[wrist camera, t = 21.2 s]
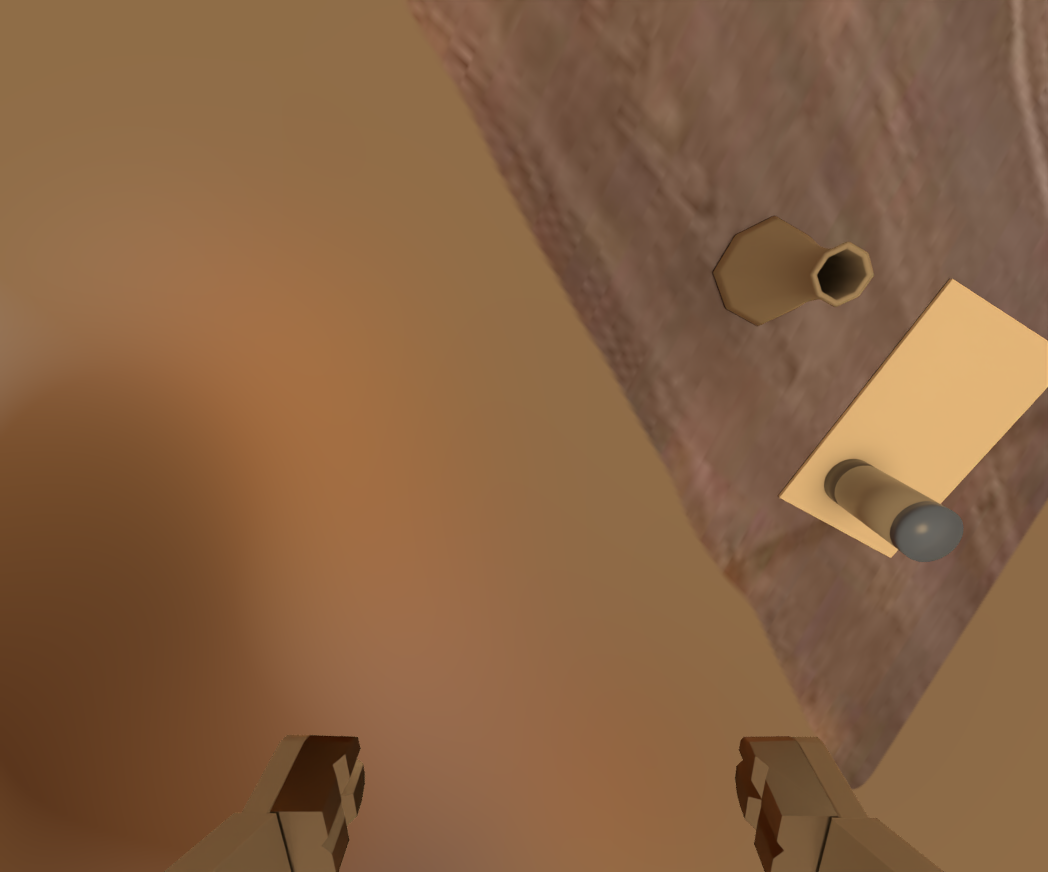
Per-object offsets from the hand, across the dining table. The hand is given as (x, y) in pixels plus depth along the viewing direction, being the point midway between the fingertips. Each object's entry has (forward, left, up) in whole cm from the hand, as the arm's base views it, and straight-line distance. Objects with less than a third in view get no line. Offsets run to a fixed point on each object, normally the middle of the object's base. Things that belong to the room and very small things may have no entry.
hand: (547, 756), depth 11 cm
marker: (-6, +26, -31) cm, 41 cm away
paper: (-12, +28, -31) cm, 43 cm away
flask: (-16, +10, -31) cm, 37 cm away
